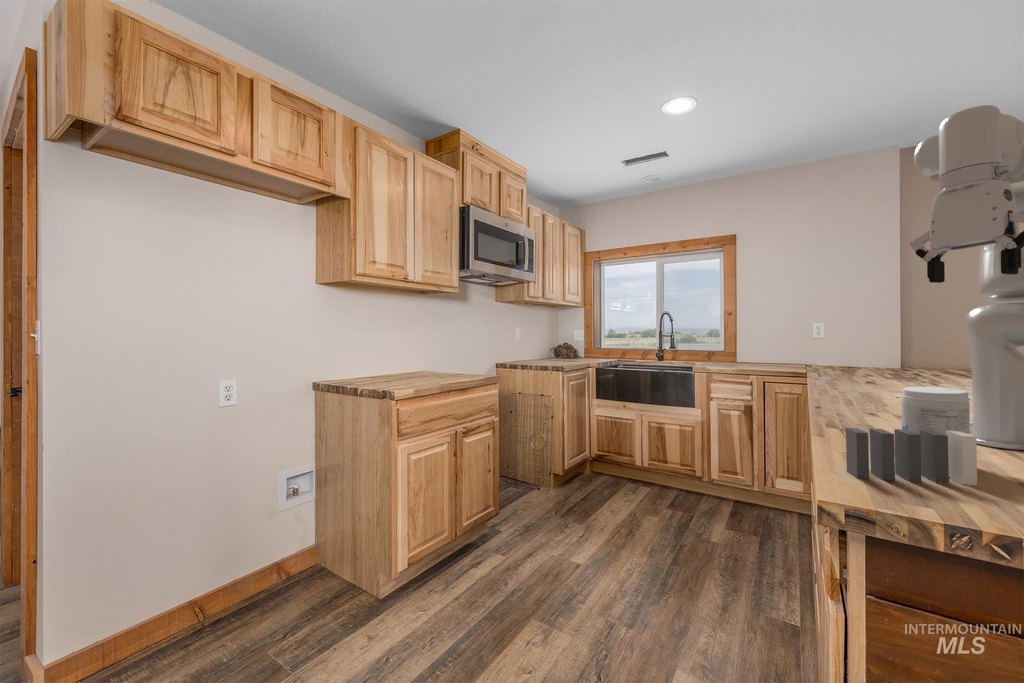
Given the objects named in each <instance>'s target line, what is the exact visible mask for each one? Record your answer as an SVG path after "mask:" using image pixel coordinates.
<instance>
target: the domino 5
mask: <svg viewBox="0 0 1024 683" xmlns="http://www.w3.org/2000/svg"><path fill="white" fill-rule="evenodd" d="M946 435H948V464H949V477H950V478H952V479H951V480H953V479H954V480H953V481H955V480H956V481H955V482H957V481H958V482H957V483H959V482H960V483H959V484H961V483H962V484H961V485H963V484H966V485H965V486H975V485H977V486H978V462H977V461H978V458H977V457H978V456H977V453H978V452H977V451H978V450H977V444H976V436H973V435H970V434H967V433H964V432H960V431H946ZM950 478H949V479H950ZM967 484H968V485H967Z"/></svg>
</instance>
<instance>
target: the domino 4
mask: <svg viewBox="0 0 1024 683" xmlns="http://www.w3.org/2000/svg"><path fill="white" fill-rule="evenodd" d="M920 435H921V475H922V476H921V477H923V476H924V477H923V478H925V477H926V478H925V479H927V478H928V479H927V480H929V479H930V480H929V481H931V480H932V481H931V482H933V481H934V482H939V483H938V484H941V483H949V484H950V478H949V464H948V435H945V434H942V433H939V432H936V431H933V430H920ZM934 482H933V483H934ZM940 482H941V483H940Z"/></svg>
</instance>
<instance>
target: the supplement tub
mask: <svg viewBox="0 0 1024 683" xmlns="http://www.w3.org/2000/svg"><path fill="white" fill-rule="evenodd" d="M901 391H902V394H901V429H907V430H909V431H912V432H915V433H917V434H920V430H933V431H936V432H939V433H942V434H945V435H946V431H960V432H964V433H967V434H970V433H971V430H970V429H971V428H970V427H971V426H970V421H971V420H970V419H971V418H970V412H971V410H970V409H971V408H970V398H969V392H968V391H967V390H964V389H959V388H951V387H950V388H949V387H938V386H937V387H935V386H907V387H903V388H902V390H901Z"/></svg>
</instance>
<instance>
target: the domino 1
mask: <svg viewBox="0 0 1024 683" xmlns="http://www.w3.org/2000/svg"><path fill="white" fill-rule="evenodd" d="M845 450H846V452H845V454H846V456H845V458H846V459H845V460H846V472H847V473H849V474H850V475H851V476H853V477H854V478H855V479H859V480H870V459H869V458H870V453H869V452H870V444H869V432H866V431H864V430H862V429H860V428H858V427H845Z"/></svg>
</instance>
